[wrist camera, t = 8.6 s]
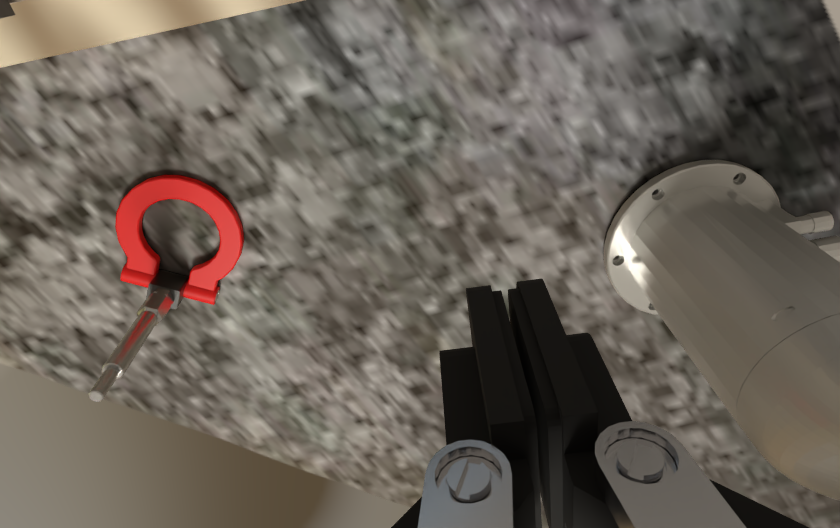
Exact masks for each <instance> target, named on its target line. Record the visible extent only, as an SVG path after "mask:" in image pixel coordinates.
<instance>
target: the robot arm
mask: <svg viewBox="0 0 840 528" xmlns="http://www.w3.org/2000/svg"><path fill="white" fill-rule="evenodd" d="M833 226H834V219H833V217H832V215H831V214H830V213H829V212H828V211H821V212H816V213H810V214H806V215H804V216H799V217H795V216H793V215H791V214H789V213H788V212H786V211H785V210H783V209H782V208H781V206H780V202H779V198H778V196H777V194H776V193H775V191H774V189H773V187H772V186H771V185H770V184H769V183H768V182H767V181H766V180H765V179H764V178H763V177H762V176H760V175H759V174H757V173H756V172H754V171H753V170H751V169H750V168H747V167H745V166H743V165H740V164H738V163H736V162H730V161H725V160H699V161H694V162H689V163H684V164H682V165H679V166H676V167H674V168H671V169H668V170H666V171H664V172H663V173H661V174H659V175H657V176H655V177H654V178H652V179H650V180H649V181H648V182H646V183H645V184H644V185H642V186H641V187H640V188H639V189H637V190H636V191H635V192H634V193H633V194H632V195H631V196H630V197H629V198H628V199H627V200H626V202H625V203H624V204H623V205H622V207H621V208H620V210H619V211H618V212H617V214H616V215H615V217H614V219H613V221H612V223H611V225H610V227H609V230H608V232H607V236H606V240H605V244H604V259H603V260H604V265H605V270H606V274H607V276H608V278H609V280H610V282H611V284H612V286H613V287H614V288H615V290H616V291H617V293H618V294H619V295H620V296H621V297H622V298H623V299H624V300H625V301H626V302H627V303H628V304H630V305H632V306H633V307H635V308H637V309H638V310H641V311H644V312H646V313H650V314H655V315H660V316H661V318H662V319H663V321H664V322H665V323H666V325H667V326H668V328H669V329H670V330H671V332H672V333H673V335H674V336H675V337H676V339H677V340H678V341H679V343H680V344H681V346H682V347H683V348H684V350H685V351H686V353H687V354H688V355H689V357H690V358H691V359H692V361H693V362H694V364H695V365H696V366H697V368H698V369H699V371H700V372H701V373H702V375H703V376H704V378H705V379H706V380H707V382H708V383H709V384H710V386H711V387H712V389H713V390H714V391H715V393H716V394H717V396H718V397H719V398H720V400H721V401H722V402H723V404H724V405H725V407H726V408H727V409H728V411H729V412H730V414H731V415H732V416H733V418H734V419H735V420H736V422H737V423H738V425H739V426H740V427H741V429H742V430H743V431H744V433H745V434H746V435H747V437H748V438H749V439H750V441H751V442H752V443H753V445H754V446H755V448H756V449H757V450H758V451H759V453H760V454H761V455H762V456H763V457H764V458H765V459H766V460H767V461H768V462H769V463H770V464H771V465H772V466H773V467H774V468H775V469H777V470H778V471H779V472H781V473H782V474H784V475H785V476H786V477H788V478H789V479H791V480H792V481H794V482H796V483H798V484H799V485H801V486H804V487H806V488H808V489H810V490H812V491H815V492H817V493H819V494H822V495H825V496H828V497H830V498H833V499H836V500H839V501H840V237H838V236H830V237H824V238H819V239H814V240H807V239H806V238H805V237H803V236H802V234H807V233H809V234H813V233H818V232H823V231H829V230H831V229H832V228H833ZM516 287H517V288H516V289H509V290H508V300H509V313H510V321H509V318H508V314H507V310H506V307H505V303H504V299H503V296H502V292H501V291H493V292H492V289H491V286H490V285H489V286H481V287H473V288H466V294H467V303H468V311H469V320H470V328H471V337H472V345H473V347H468V348H460V349H451V350H443V351H440V366H441V379H442V392H443V404H444V417H445V430H446V443H447V445H446V446H445V447H443V448H442V449H441V450H439V451H438V452H437V453H436V454H435V455H434V456H433V458H432V459H431V460H430V462H429V464H428V467H427V470H426V473H425V480H424V487H423V494H422V497H421V498H420V499H419V500H418V501H417V502H416V503H415V504H414V505H413V506H412V507H411V508H410V509H409V510H408V511H407V512H406V513H405V514H404V515H403V517H401V518H400V519H399V520H398V521H397V522H396V523H395V524H394V526H392V527H391V528H542V522H541V502H540V493H541V497H542V501H543V506H544V510H545V514H546V518H547V522H548V526H549V528H809V527H806V526H804V525H802V524H800V523H798V522H796V521H794V520H792V519H790V518H788V517H786V516H784V515H782V514H780V513H778V512H776V511H774V510H772V509H769V508H767V507H765V506H763V505H761V504H759V503H757V502H755V501H753V500H751V499H749V498H747V497H745V496H743V495H741V494H739V493H737V492H735V491H732V490H730V489H728V488H726V487H724V486H722V485H720V484H718V483H716V482H714V481H712V480H710V479H708V477H707V476H706V475H705V473H704V472H703V471H702V469H701V468H700V467H699V466H698V464H697V463H696V462H695V460H694V459H693V458H692V456H691V455H690V454H689V453H688V451H687V450H686V449H685V447H684V446H683V445H682V444H681V443H680V442H679V441H678V440H677V439H676V438H675V437H674V436H673V435H672V434H670V433H669V432H667V431H665V430H664V429H662V428H660V427H657V426H655V425H652V424H649V423H644V422H636V421H632V420H631V418H630V416H629V413H628V411H627V409H626V407H625V405H624V403H623V401H622V399H621V397H620V395H619V393H618V391H617V389H616V386H615V384H614V382H613V380H612V378H611V376H610V374H609V372H608V370H607V368H606V366H605V364H604V361H603V359H602V357H601V355H600V353H599V351H598V349H597V347H596V345H595V343H594V341H593V339H592V337H591V335H590V334H589V333H581V334H573V335H566V334H565V331H564V329H563V327H562V324H561V322H560V319H559V317H558V314H557V312H556V310H555V307H554V305H553V302H552V300H551V298H550V295H549V293H548V290H547V288H546V286H545V283H544V281H543V279H535V280H527V281H520V282H517V286H516Z"/></svg>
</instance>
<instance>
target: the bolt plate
mask: <svg viewBox="0 0 840 528" xmlns="http://www.w3.org/2000/svg"><path fill="white" fill-rule="evenodd" d="M299 1H304V0H0V68H1V67H5V66H10V65H14V64H19V63H23V62H28V61H32V60H37V59H41V58H46V57H50V56H55V55H59V54H64V53H69V52H73V51H78V50H82V49H87V48H91V47H96V46H100V45H105V44H109V43H114V42H118V41H123V40H127V39H132V38H136V37H141V36H145V35H150V34H154V33H159V32H163V31H168V30H173V29H177V28H182V27H186V26H191V25H195V24H200V23H204V22H209V21H213V20H218V19H222V18H227V17H231V16H236V15H240V14H245V13H249V12H254V11H258V10H263V9H267V8H272V7H276V6H281V5H286V4H290V3H295V2H299Z"/></svg>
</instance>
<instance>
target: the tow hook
mask: <svg viewBox="0 0 840 528" xmlns="http://www.w3.org/2000/svg"><path fill="white" fill-rule="evenodd" d="M165 199H180V200H184V201H188V202H191V203H193V204H195V205H197V206H199V207H201V208H202V209H203V210H204V211H206V212H207V213H208V214H209V215H210V216H211V218H212V219H213V220H214V222H215V223H216V226H217V228H218V230H219V235H220V246H219V250H218V252H217V254H216V255H215V256H214V257H213V258H212V259H211V260H209V261H207V262H205V263H203V264H199V265H195V266H194V267H193V268H192V270H191V271H190V276H189V277H187V276H183V275H179V274H176V273H172V272H168V271H164V270H159V265H160V257H159V255H158V254H156V253H155V252H154V251H153V250H152V248H151V247H150V246H149V245H148V243H147V241H146V239H145V237H144V235H143V230H142V219H143V216H144V213H145V211H146V209H147V208H148V207H149V206H150V205H152V204H154V203H156V202H157V201H161V200H165ZM115 228H116V232H117V236H118V241H119V243H120V245H121V247H122V249H123V250H124V252H125V254H126V256H127V263H126V264H125V266H124V268H123V270H122V273H121V281H124V282H128V283H132V284H136V285H140V286H144V287H147V288H148V291H147V297H146V300H145V302H144V303H143V305H142V306H141V307H140V309H139V310H138V312H137V316H138V317H137V319H136V320H135V321H134V323H133V324H132V326H131V327H130V328H129V330H128V331H127V333H126V334H125V336H124V337H123V338H122V340H121V341H120V343H119V344H118V346H117V347H116V348H115V350H114V351H113V353H112V354H111V355H110V357H109V358H108V360H107V361H106V363H105V364H104V365H103V367H102V372H103V374H102V375H101V376H100V378H99V379H98V381H97V382H96V384H95V385H94V387H93V388H92V389H91V391H90V392H89V394H88V395H89V398H90V399H91V400H93V401H102V400H103V399H104V397H105V395H106V394H107V392H108V391H109V389H110V388H111V386H112V385H113V383H114V382H115V380H116V379H119V378H121V377H122V376H123V375H124V373H125V372H126V370H127V368H128V367H129V365H130V364H131V362H132V361H133V359H134V357H135V356H136V354H137V353H138V351H139V350H140V348H141V347H142V345H143V343H144V342H145V340H146V339H147V337H148V336H149V334H150V332H151V331H152V329H153V328H154V326H156V325H157V324H158V323H159V322H161V321H162V320H163V318H164V317H165V315H166V313H167V312H168V310H169V309H170V308H172V309H177V307H178V306H179V304H180V302H181V301H182V299H183V297H186V298H190V299H194V300H197V301H201V302H205V303H209V304H213V305H214V304H215V302H216V301H217V298H218V295H219V290H220V287H218V286H217V284H218V280H220V279H222V278H224V277H225V276H226V275H227V274H228V273H229V272H230V271H231V270H232V269H233V268H234V266H235V264H236V262H237V261H238V259H239V257H240V255H241V253H242V248H243V243H244V236H243V226H242V224H241V221H240V219H239V216H238V214H237V212H236V210H235V209H234V208H233V206H232V205H231V204H230V202H229V201H228V200H227V198H225V197H224V196H223V195H222V194H221V193H219V192H218V191H217V190H216V189H215V188H213V187H211V186H209V185H207V184H205V183H203V182H201V181H200V180H197V179H193V178H189V177H186V176H182V175H161V176H157V177H153V178H149V179H147V180H145V181H143V182H142V183H140V184H138V185H136V186H135V187H134V188H133V189H131V191H130V192H129V193H128V194H127V195H126V196H125V197H124V198H123V199H122V201H121V203H120V206H119V208H118V210H117V213H116V226H115ZM158 270H159V271H158Z"/></svg>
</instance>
